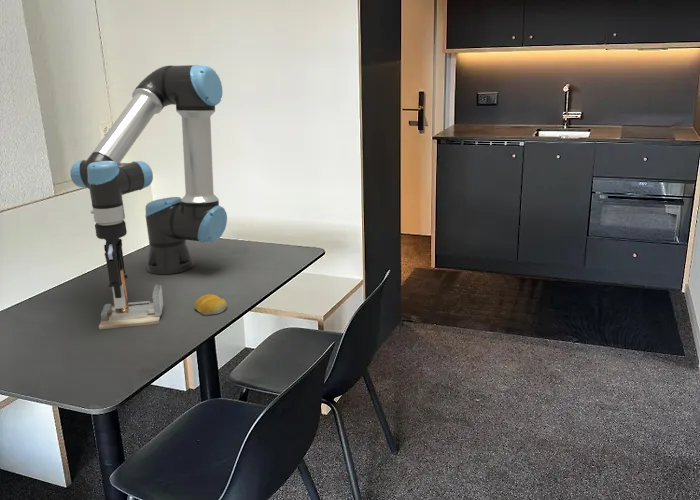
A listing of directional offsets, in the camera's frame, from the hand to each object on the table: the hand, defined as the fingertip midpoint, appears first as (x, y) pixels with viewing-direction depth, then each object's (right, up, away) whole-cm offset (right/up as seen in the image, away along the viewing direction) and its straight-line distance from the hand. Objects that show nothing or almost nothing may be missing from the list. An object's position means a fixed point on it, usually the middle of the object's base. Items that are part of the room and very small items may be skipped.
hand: (121, 304), depth 174 cm
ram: (+4, -2, +2) cm, 5 cm away
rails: (+1, -3, +1) cm, 3 cm away
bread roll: (+23, -2, +5) cm, 24 cm away
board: (+2, -3, +2) cm, 4 cm away
